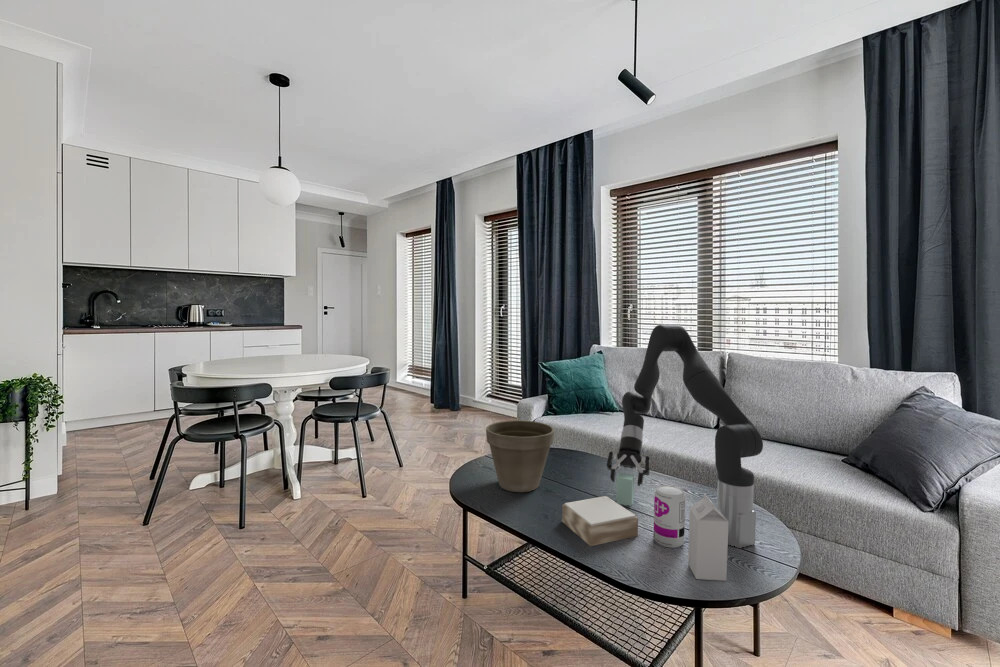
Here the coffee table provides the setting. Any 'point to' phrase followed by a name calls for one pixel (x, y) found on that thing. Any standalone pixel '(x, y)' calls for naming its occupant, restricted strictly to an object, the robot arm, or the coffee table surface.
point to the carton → (625, 489)
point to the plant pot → (519, 452)
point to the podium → (599, 520)
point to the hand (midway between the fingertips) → (625, 483)
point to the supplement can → (669, 516)
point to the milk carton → (707, 541)
